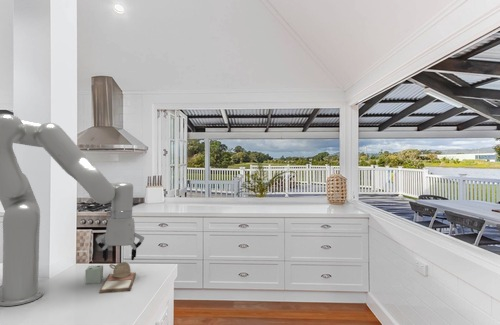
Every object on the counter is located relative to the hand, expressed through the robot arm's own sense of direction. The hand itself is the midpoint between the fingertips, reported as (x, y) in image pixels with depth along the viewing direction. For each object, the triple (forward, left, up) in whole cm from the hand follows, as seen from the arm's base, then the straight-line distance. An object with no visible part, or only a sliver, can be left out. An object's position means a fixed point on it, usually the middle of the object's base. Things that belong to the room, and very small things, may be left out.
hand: (119, 259), depth 118 cm
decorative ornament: (0, +1, -7) cm, 7 cm away
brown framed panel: (+1, -4, -8) cm, 9 cm away
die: (-9, +1, -8) cm, 12 cm away
